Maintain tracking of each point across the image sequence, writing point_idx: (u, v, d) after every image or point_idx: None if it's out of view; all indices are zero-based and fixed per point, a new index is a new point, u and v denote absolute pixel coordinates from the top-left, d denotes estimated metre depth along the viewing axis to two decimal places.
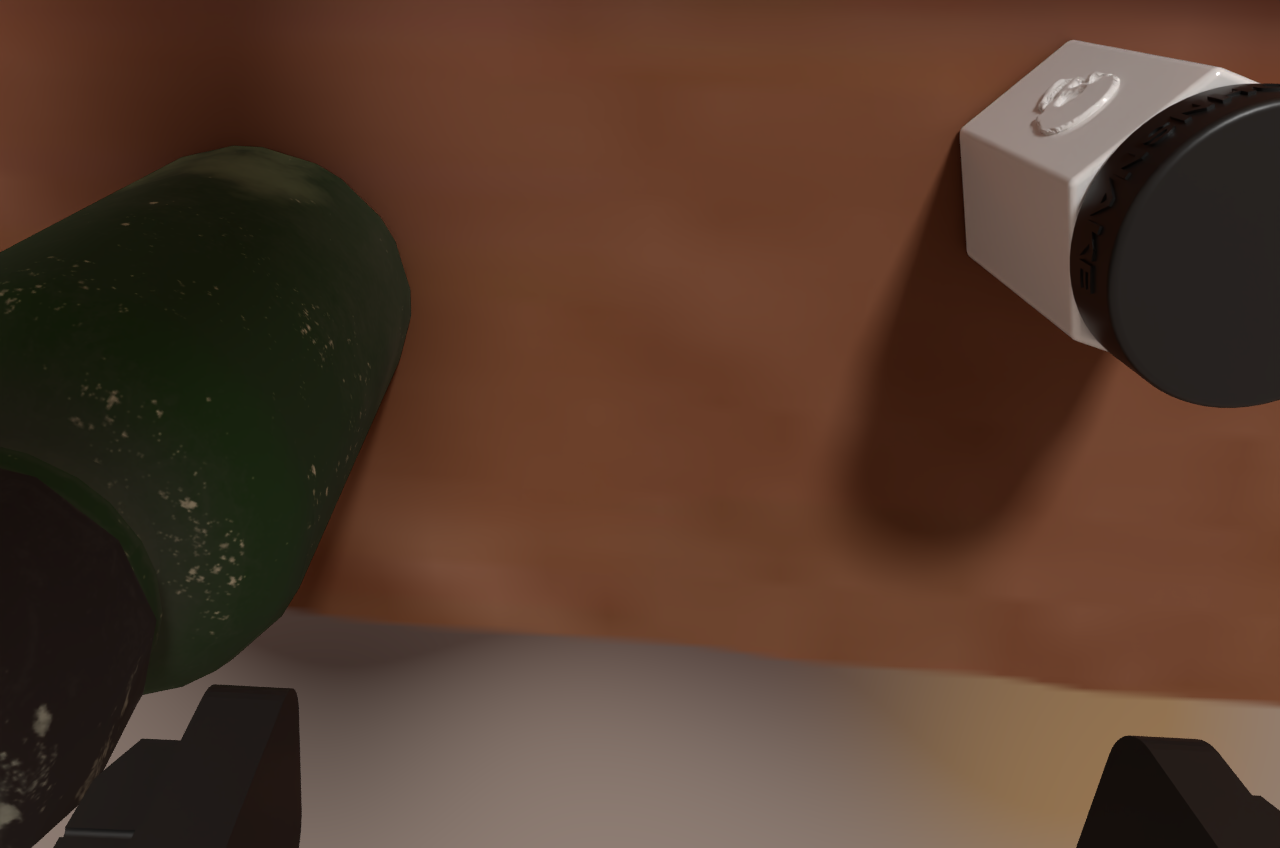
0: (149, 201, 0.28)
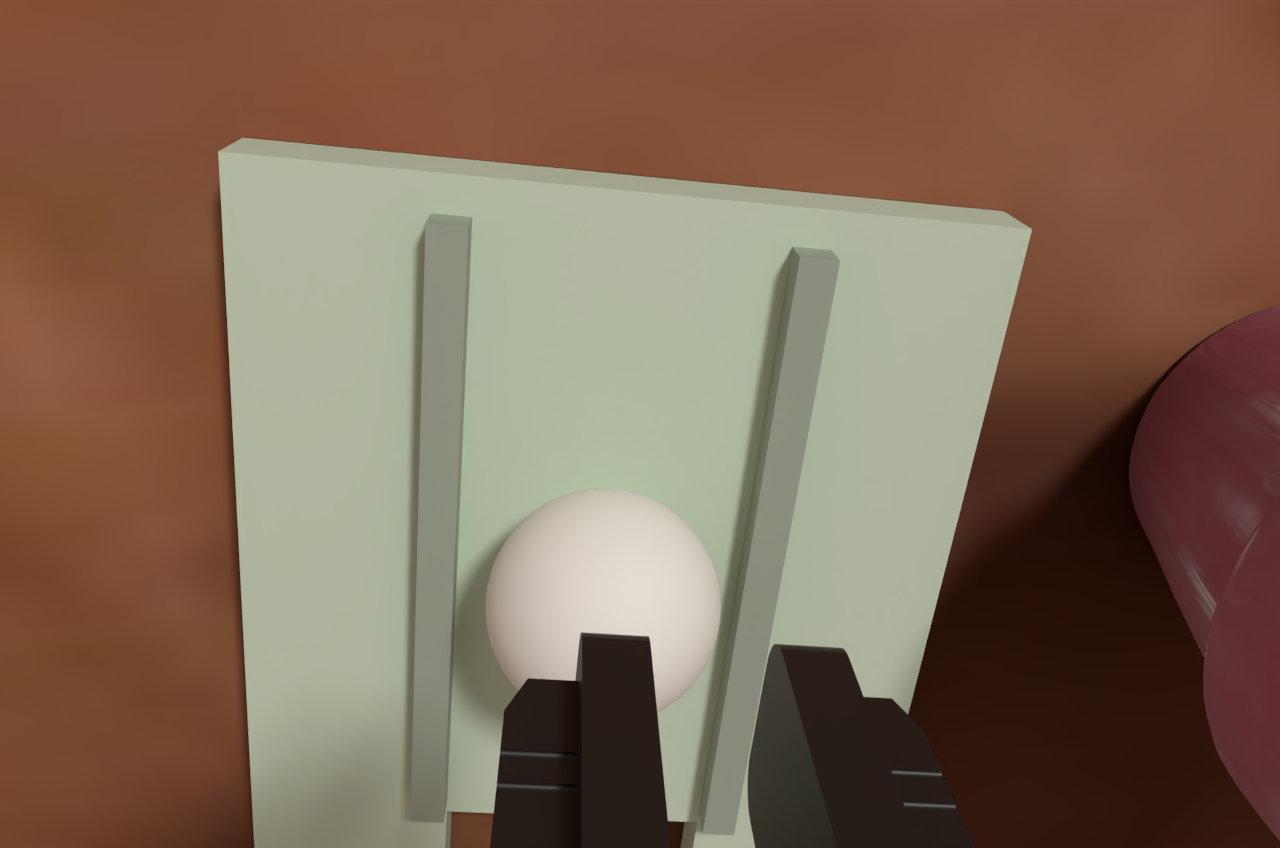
0: None
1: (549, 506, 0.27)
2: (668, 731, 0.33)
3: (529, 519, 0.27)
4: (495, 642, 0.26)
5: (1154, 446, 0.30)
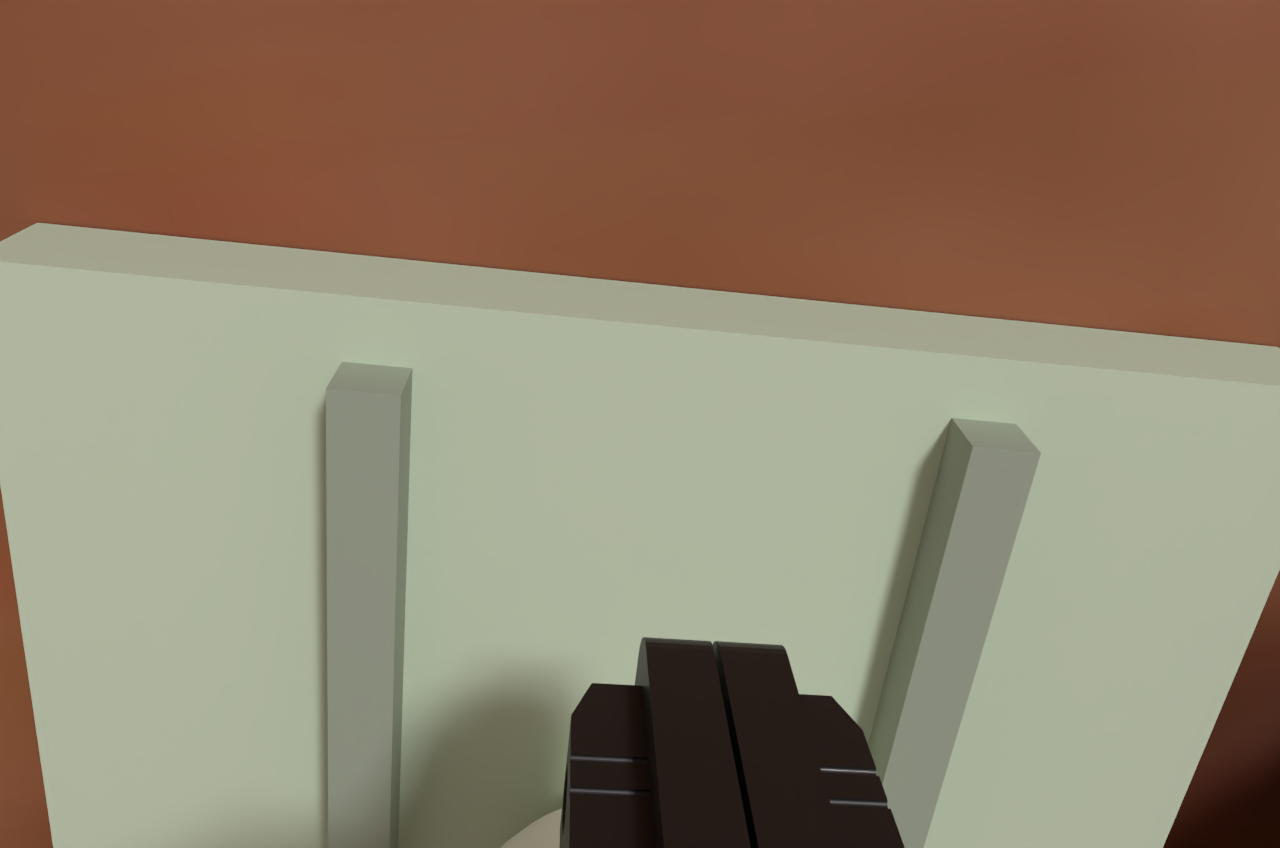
0: None
1: None
2: None
3: None
4: None
5: None
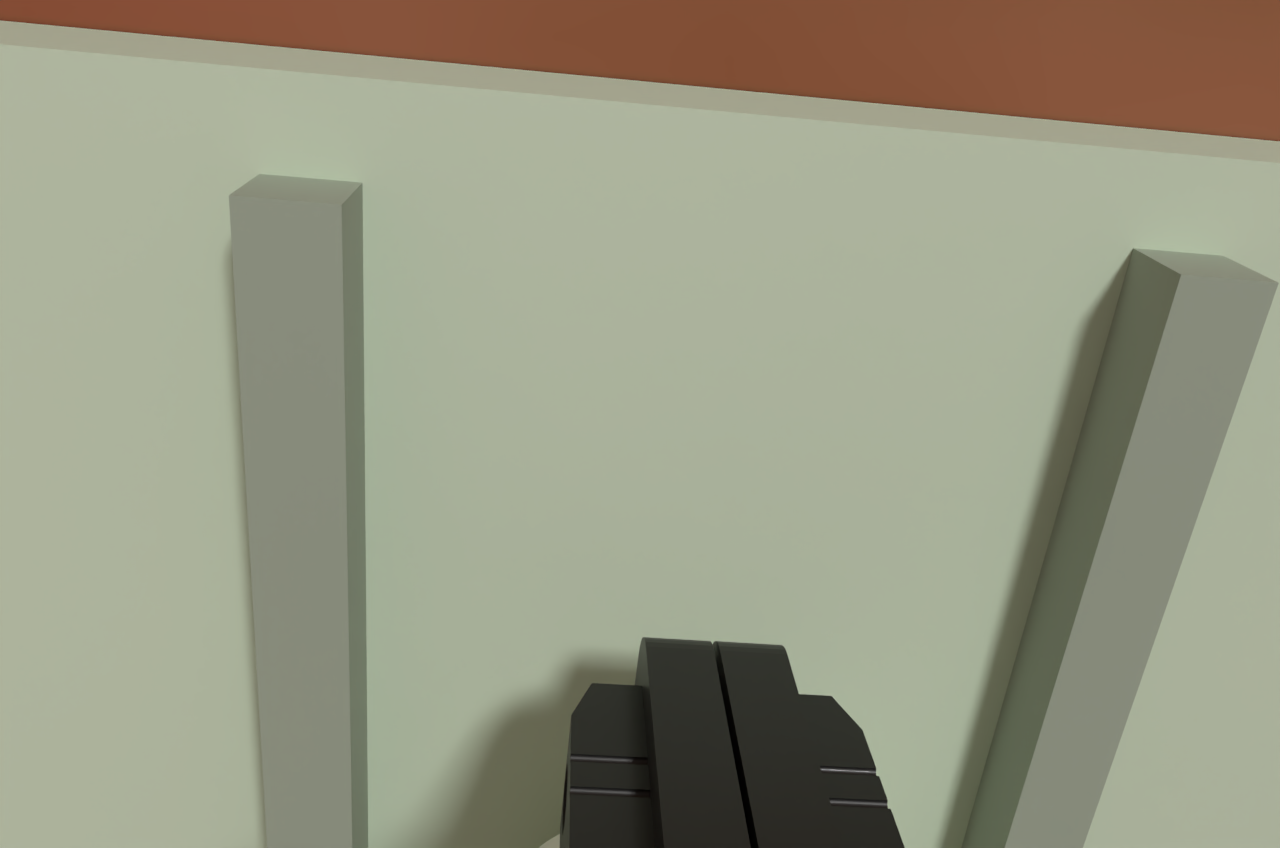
0: None
1: None
2: None
3: None
4: None
5: None
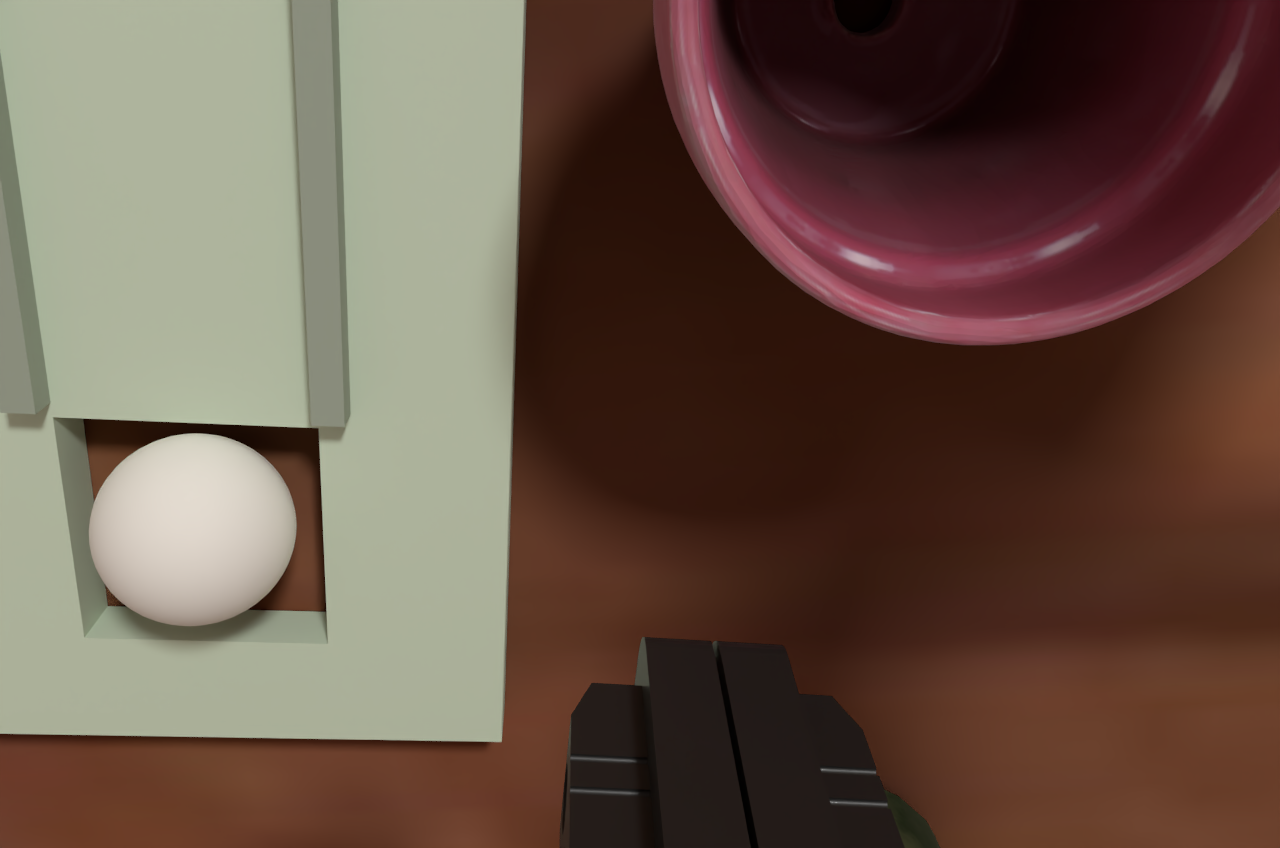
0: None
1: None
2: (267, 315, 0.32)
3: None
4: None
5: None
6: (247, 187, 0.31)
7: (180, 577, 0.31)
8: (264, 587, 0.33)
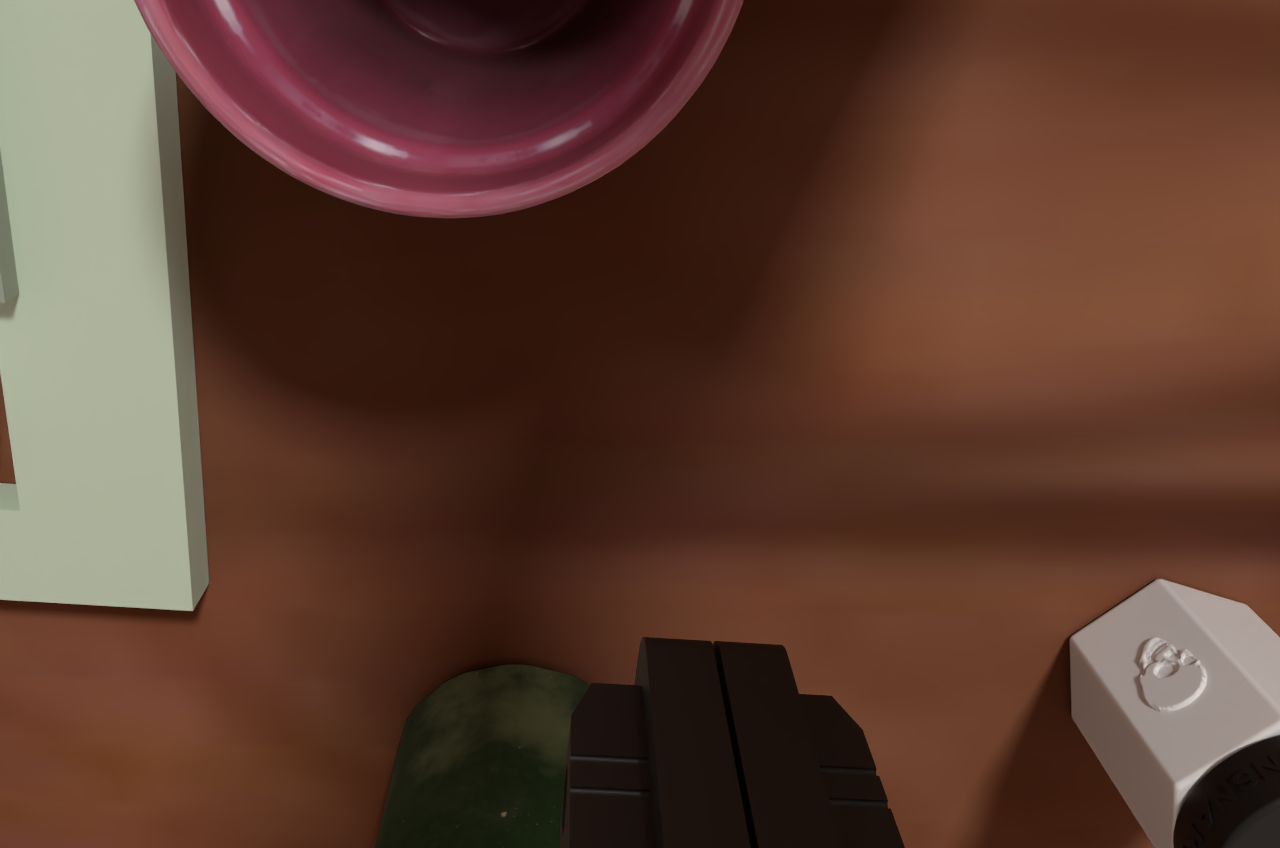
0: (499, 810, 0.38)
1: None
2: None
3: None
4: None
5: None
6: None
7: None
8: None
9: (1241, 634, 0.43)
